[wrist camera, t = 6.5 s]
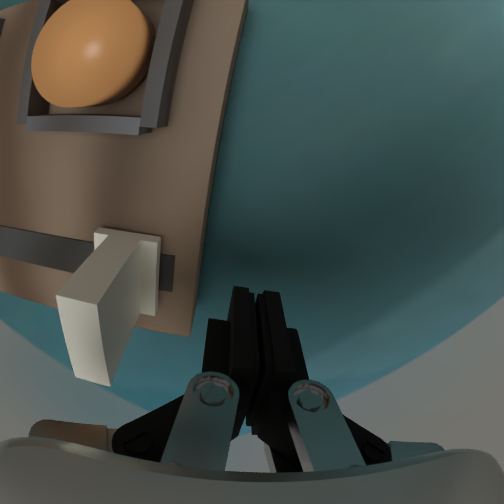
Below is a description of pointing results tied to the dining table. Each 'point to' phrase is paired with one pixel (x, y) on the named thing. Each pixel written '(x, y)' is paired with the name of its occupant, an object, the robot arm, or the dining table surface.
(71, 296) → the cream stepped block
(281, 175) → the dining table surface
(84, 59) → the orange button
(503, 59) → the dining table surface
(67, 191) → the panel
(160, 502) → the robot arm
